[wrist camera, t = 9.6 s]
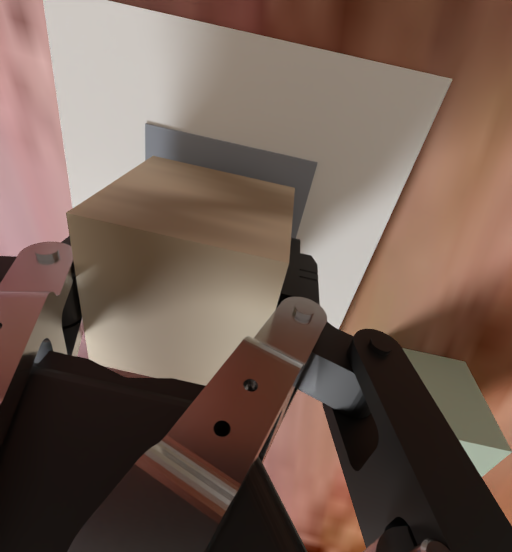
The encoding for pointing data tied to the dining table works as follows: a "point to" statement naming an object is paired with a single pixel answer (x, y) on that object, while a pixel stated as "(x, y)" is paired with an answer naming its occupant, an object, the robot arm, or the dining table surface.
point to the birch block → (178, 266)
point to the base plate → (243, 121)
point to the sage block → (462, 407)
